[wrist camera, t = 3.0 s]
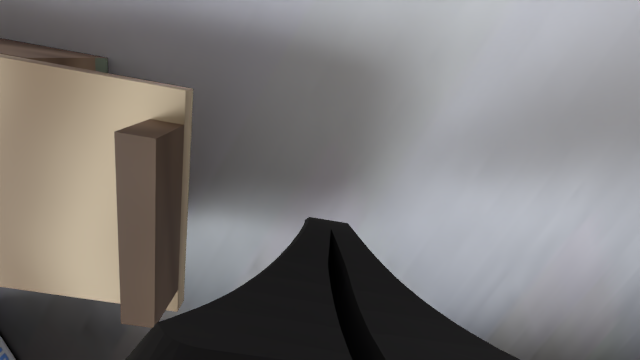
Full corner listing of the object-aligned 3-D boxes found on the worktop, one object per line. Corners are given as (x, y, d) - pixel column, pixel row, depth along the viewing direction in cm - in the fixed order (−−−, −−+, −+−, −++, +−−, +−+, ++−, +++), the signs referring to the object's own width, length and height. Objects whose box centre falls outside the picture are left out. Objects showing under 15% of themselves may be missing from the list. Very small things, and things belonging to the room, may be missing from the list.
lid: (193, 88, 10) (156, 97, 8) (183, 300, 13) (154, 352, 10) (-161, 24, 9) (-311, 14, 7) (-92, 261, 12) (-185, 307, 10)
